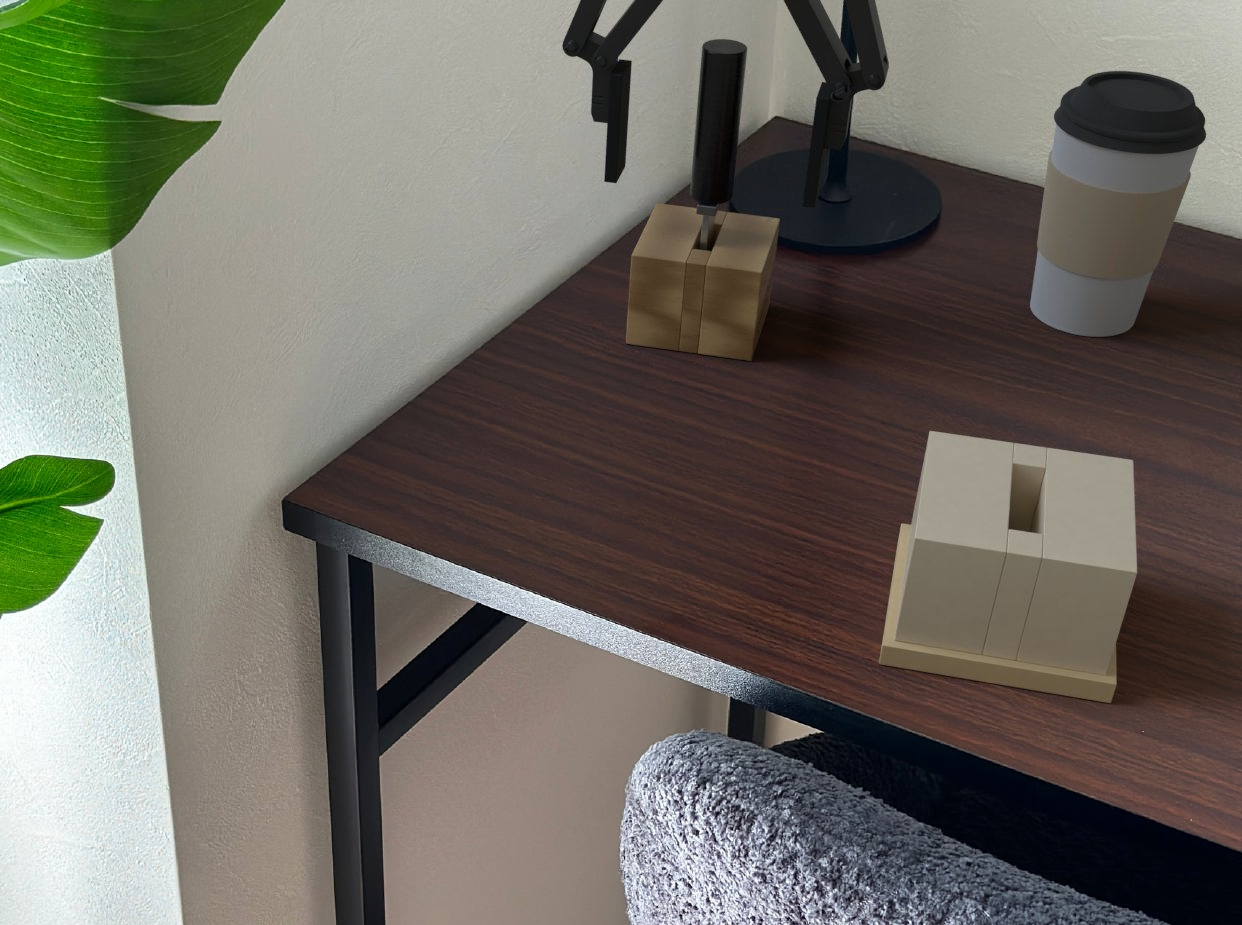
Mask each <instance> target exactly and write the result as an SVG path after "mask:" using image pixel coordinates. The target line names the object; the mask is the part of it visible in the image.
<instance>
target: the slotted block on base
mask: <svg viewBox="0 0 1242 925" xmlns="http://www.w3.org/2000/svg"><path fill="white" fill-rule="evenodd" d="M1134 465H1135V464H1134V460H1133V459H1129V458H1122V457H1114V456H1108V455H1100V454H1093V453H1086V452H1079V451H1073V450H1067V449H1059V448H1053V447H1046V446H1038V445H1032V444H1025V443H1019V442H1010V441H1005V440H1004V441H1002V440H996V439H990V438H984V437H975V436H969V435H962V434H955V433H947V432H942V431H933V430H929V432H928V437H927V442H926V447H925V452H924V458H923V463H922V466H921V473H920V478H919V482H918V488H917V492H916V498H915V502H914V507H913V513H912V518H911V523H910V524H909V523H901V524H900V527H899V533H898V538H897V544H896V552H895V557H894V562H893V571H892V577H891V581H890V582H891V583H890V589H889V595H888V602H887V608H886V614H885V615H886V616H885V621H884V628H883V634H882V639H881V640H882V641H881V647H880V653H879V660H878V664H879V665H882V666H888V667H894V668H899V669H903V670H904V669H905V670H911V671H916V672H922V673H929V674H935V675H941V676H946V677H953V678H958V679H964V680H971V681H977V682H982V683H986V684H987V683H988V684H993V685H998V686H999V685H1000V686H1004V687H1005V686H1006V687H1011V688H1017V689H1024V690H1029V691H1034V692H1041V693H1047V694H1053V695H1059V696H1066V697H1071V698H1076V699H1083V700H1089V701H1095V702H1101V703H1105V704H1106V703H1107V704H1111V703H1112V701H1113V698H1114V695H1115V692H1116V688H1117V684H1118V682H1117V681H1118V678H1117V677H1118V676H1117V673H1118V672H1117V671H1118V670H1117V640H1118V638H1119V636H1120V635H1119V634H1120V631H1121V628H1122V624H1123V621H1124V618H1125V614H1126V611H1127V608H1128V605H1129V603H1130V602H1129V601H1130V599H1131V595H1132V592H1133V588H1134V585H1135V582H1136V579H1137V575H1138V556H1137V555H1138V554H1137V552H1138V550H1137V549H1138V548H1137V524H1136V523H1137V522H1136V520H1137V519H1136V496H1135V495H1136V494H1135V493H1136V492H1135V468H1134Z"/></svg>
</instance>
